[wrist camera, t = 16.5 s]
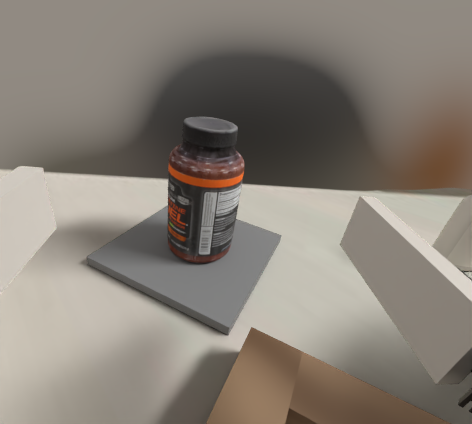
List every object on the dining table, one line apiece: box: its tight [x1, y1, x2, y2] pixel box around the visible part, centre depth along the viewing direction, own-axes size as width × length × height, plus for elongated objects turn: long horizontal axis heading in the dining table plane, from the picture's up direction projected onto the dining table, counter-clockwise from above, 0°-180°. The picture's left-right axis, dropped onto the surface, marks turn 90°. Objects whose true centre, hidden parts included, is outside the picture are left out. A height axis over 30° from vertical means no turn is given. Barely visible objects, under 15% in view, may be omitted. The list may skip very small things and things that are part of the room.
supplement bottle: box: [167, 117, 244, 263], centre depth 22 cm, size 6×6×11 cm
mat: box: [87, 206, 281, 335], centre depth 25 cm, size 13×13×1 cm
